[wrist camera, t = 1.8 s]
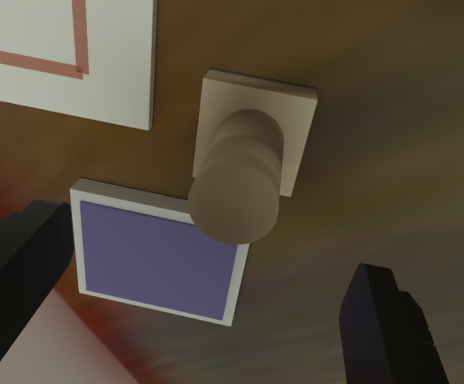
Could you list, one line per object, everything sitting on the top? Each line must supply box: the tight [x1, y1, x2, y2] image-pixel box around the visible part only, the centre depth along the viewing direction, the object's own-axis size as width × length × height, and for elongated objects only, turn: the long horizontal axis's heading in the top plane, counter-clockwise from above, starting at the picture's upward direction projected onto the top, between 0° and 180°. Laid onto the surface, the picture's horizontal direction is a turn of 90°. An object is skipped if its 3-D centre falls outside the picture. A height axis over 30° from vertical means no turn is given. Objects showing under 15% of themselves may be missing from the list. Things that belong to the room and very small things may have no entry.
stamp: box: [188, 68, 318, 245], centre depth 16 cm, size 5×5×7 cm
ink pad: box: [70, 178, 250, 326], centre depth 23 cm, size 10×8×1 cm
